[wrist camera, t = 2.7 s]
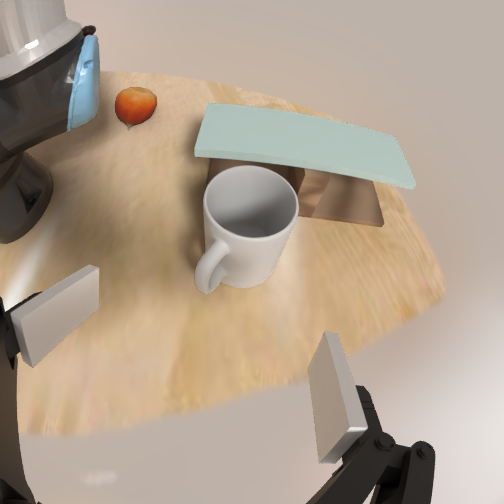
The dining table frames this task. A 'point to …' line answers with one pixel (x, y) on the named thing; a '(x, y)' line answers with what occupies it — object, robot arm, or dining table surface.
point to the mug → (244, 227)
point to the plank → (301, 143)
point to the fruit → (135, 105)
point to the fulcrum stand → (321, 192)
